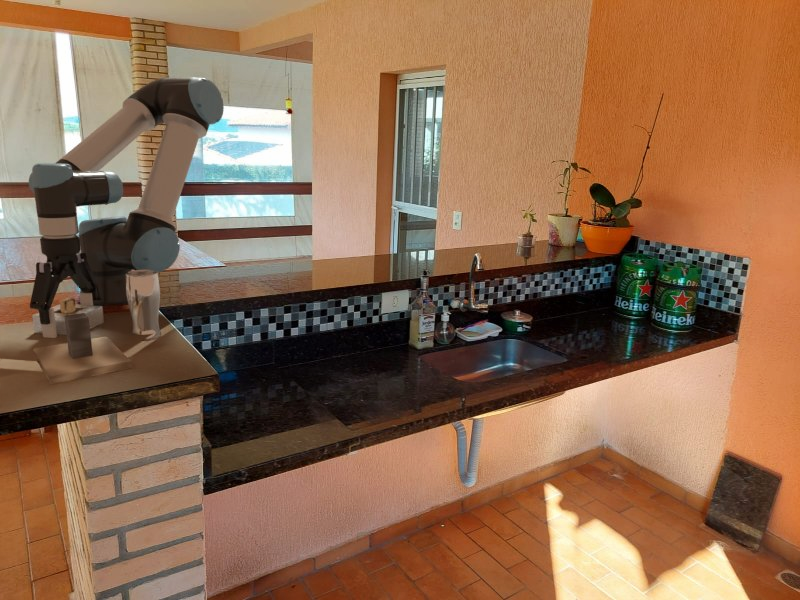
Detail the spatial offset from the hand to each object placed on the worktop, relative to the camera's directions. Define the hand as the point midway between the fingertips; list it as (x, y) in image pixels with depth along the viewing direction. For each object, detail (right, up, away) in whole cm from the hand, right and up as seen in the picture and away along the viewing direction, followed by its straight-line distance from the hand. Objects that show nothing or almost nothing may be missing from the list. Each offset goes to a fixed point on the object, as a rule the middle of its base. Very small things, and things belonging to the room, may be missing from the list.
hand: (70, 328), depth 134 cm
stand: (0, -1, 0) cm, 1 cm away
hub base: (+11, -6, -16) cm, 20 cm away
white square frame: (0, 0, 0) cm, 0 cm away
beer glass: (+18, -2, 0) cm, 18 cm away
